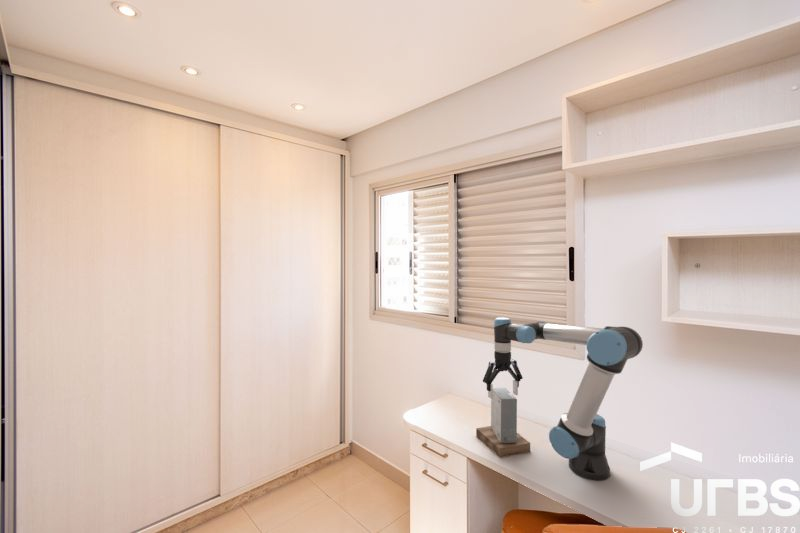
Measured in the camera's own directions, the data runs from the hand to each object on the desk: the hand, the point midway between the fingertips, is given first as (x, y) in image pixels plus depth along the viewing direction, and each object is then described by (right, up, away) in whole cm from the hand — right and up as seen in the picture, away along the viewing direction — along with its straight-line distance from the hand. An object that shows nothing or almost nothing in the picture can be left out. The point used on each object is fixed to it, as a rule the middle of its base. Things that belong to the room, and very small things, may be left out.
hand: (503, 396), depth 166 cm
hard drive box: (0, -19, +1) cm, 19 cm away
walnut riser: (0, -23, +1) cm, 23 cm away
